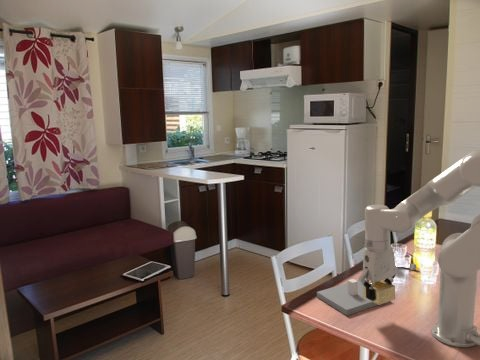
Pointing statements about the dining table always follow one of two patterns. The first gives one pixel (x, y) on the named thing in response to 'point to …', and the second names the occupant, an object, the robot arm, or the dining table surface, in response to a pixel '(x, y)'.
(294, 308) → the dining table surface
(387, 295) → the collar
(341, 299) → the post stand
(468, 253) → the robot arm
